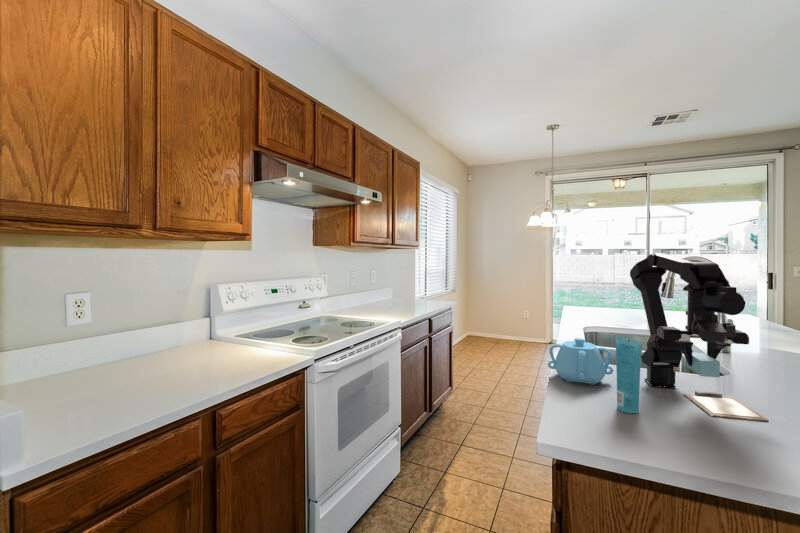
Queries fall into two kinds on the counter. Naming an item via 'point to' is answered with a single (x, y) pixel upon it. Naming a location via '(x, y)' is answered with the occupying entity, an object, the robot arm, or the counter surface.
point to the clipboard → (723, 406)
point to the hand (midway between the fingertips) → (699, 366)
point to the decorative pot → (580, 362)
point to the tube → (628, 373)
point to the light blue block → (704, 365)
